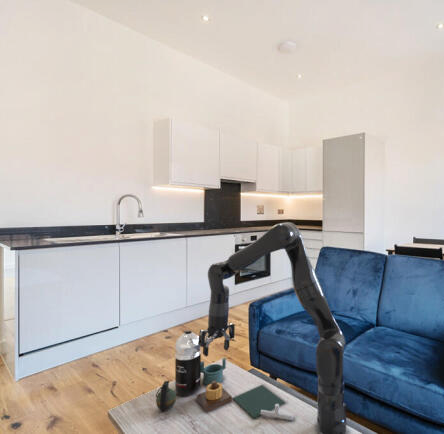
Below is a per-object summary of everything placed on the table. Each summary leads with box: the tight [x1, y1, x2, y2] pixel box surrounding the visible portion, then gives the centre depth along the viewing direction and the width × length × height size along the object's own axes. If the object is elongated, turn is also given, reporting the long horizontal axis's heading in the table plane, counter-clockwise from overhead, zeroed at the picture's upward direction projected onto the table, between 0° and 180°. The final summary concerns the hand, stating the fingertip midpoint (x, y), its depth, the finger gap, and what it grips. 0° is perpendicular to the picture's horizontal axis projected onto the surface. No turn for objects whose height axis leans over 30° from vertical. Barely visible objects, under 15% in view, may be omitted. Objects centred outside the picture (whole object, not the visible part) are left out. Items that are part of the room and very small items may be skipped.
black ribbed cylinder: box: [174, 330, 202, 397], centre depth 128 cm, size 10×10×25 cm
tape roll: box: [205, 382, 223, 400], centre depth 121 cm, size 6×6×4 cm
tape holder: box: [196, 381, 233, 413], centre depth 121 cm, size 10×10×8 cm
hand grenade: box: [155, 380, 177, 413], centre depth 116 cm, size 8×7×10 cm
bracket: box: [201, 357, 227, 386], centre depth 136 cm, size 9×9×9 cm
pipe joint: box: [260, 404, 294, 421], centre depth 112 cm, size 12×2×4 cm, turn 78°
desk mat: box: [232, 384, 286, 420], centre depth 121 cm, size 16×14×1 cm
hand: (216, 352), depth 121 cm, fingers open, 8 cm apart
